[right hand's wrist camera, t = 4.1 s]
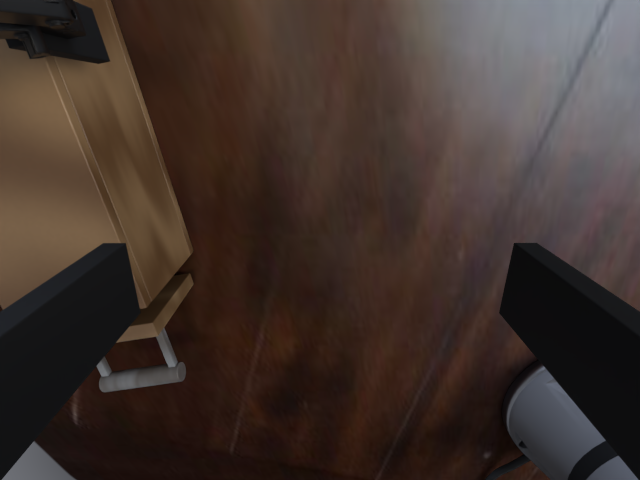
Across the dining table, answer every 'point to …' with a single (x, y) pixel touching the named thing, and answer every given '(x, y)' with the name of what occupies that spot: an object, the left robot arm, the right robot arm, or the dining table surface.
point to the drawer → (146, 327)
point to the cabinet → (82, 169)
